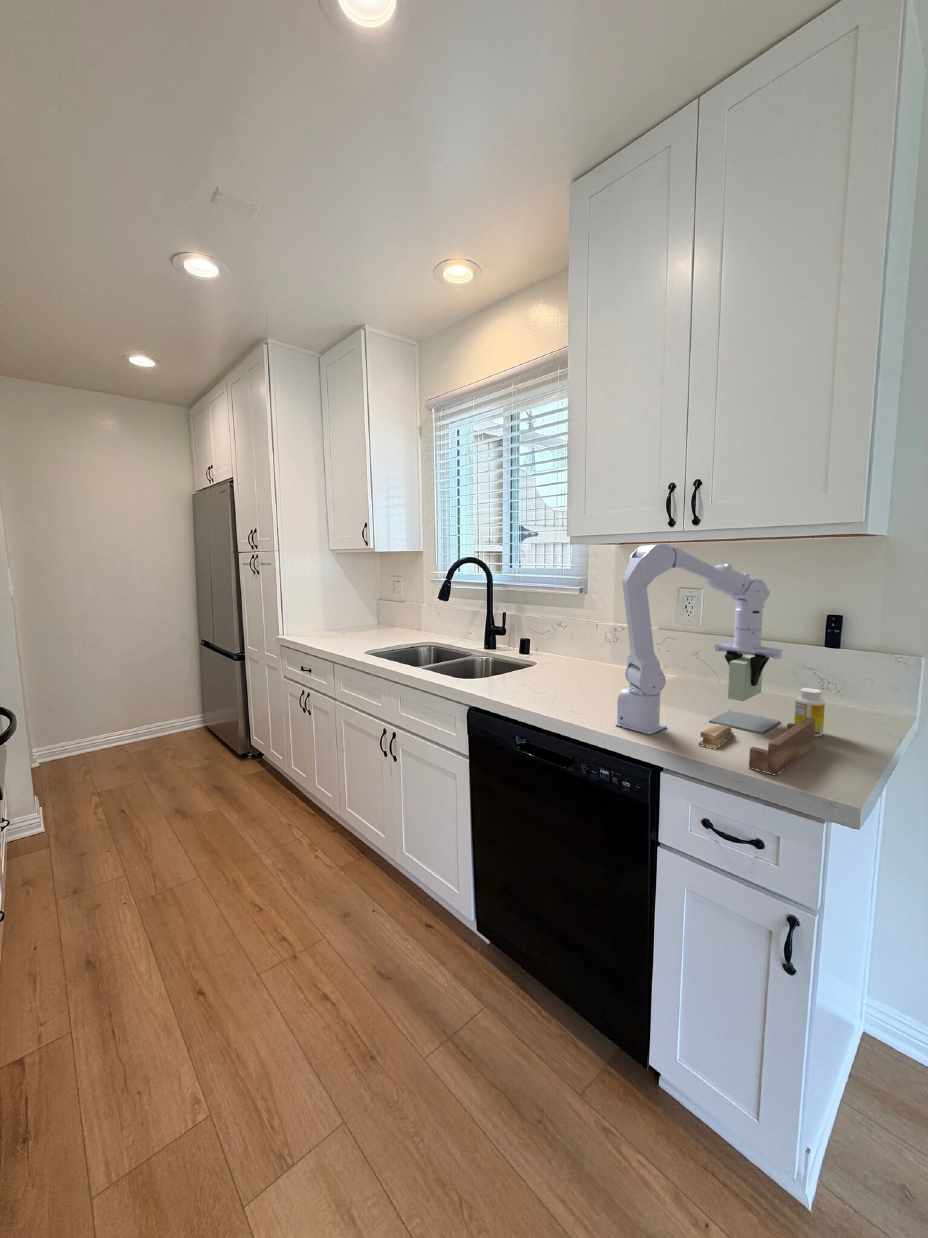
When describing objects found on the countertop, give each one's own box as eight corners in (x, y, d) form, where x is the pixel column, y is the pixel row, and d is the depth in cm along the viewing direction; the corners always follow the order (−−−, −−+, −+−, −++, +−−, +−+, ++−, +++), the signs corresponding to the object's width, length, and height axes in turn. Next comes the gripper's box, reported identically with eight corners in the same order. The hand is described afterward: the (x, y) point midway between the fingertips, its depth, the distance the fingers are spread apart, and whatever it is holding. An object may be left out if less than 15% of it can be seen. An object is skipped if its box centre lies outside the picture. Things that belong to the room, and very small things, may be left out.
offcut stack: (697, 747, 112) (698, 734, 111) (716, 733, 120) (717, 720, 120) (716, 751, 109) (716, 738, 109) (734, 736, 117) (734, 724, 117)
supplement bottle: (824, 732, 117) (827, 689, 116) (820, 739, 113) (823, 694, 112) (796, 727, 121) (798, 685, 120) (791, 734, 117) (793, 690, 116)
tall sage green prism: (727, 698, 122) (729, 661, 121) (746, 690, 129) (748, 655, 128) (743, 701, 120) (744, 663, 118) (761, 692, 127) (762, 656, 125)
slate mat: (708, 722, 127) (709, 720, 126) (729, 711, 134) (729, 710, 134) (761, 734, 117) (761, 732, 117) (780, 722, 125) (780, 720, 125)
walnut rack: (748, 768, 99) (750, 738, 98) (788, 740, 113) (790, 714, 113) (776, 776, 96) (777, 745, 95) (813, 746, 110) (815, 719, 109)
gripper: (787, 629, 119) (784, 685, 121) (724, 624, 130) (721, 675, 132) (776, 632, 115) (773, 691, 117) (711, 627, 126) (709, 680, 128)
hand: (745, 683), depth 124 cm, fingers closed on tall sage green prism, 3 cm apart
